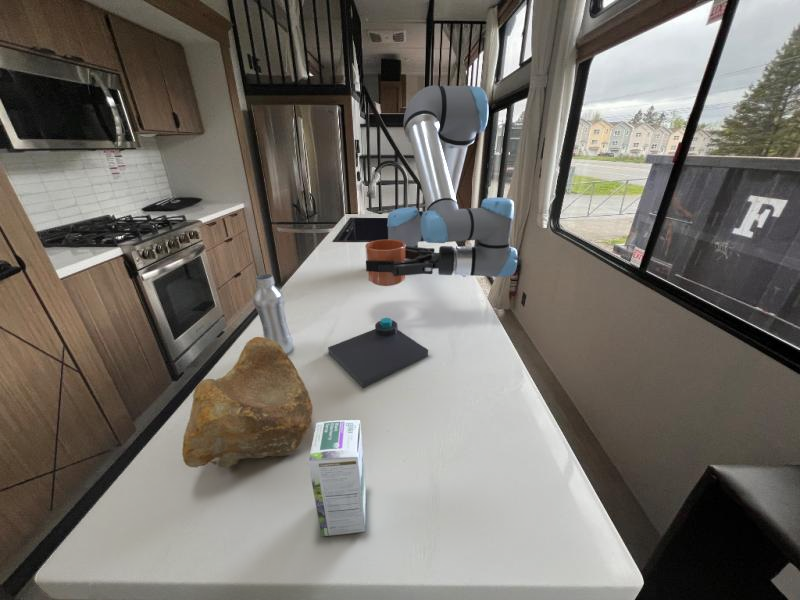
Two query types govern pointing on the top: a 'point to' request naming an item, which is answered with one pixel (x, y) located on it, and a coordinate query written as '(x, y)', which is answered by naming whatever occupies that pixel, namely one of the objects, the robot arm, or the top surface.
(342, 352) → the scale
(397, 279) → the terracotta pot
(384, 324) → the tare button
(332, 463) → the syrup box
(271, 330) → the silver water bottle
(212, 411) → the rough brown rock
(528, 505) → the top surface
